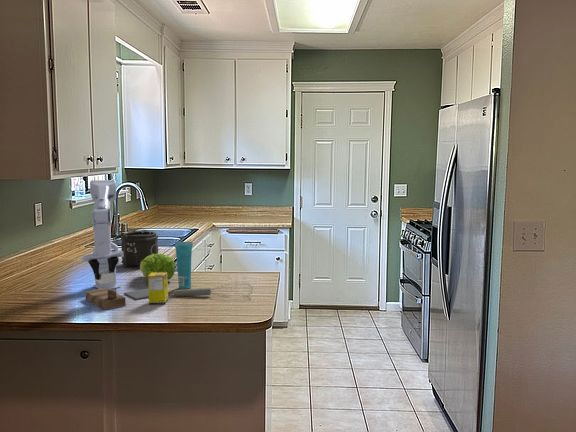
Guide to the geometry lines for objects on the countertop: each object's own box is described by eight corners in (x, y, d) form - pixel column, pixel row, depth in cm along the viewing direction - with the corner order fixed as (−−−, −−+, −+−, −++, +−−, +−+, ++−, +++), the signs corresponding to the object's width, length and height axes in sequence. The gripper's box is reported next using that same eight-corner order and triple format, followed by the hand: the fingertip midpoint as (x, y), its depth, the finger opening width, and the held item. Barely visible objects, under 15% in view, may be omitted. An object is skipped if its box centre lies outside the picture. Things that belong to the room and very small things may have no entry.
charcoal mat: (124, 294, 204) (124, 292, 204) (148, 289, 211) (148, 288, 211) (136, 300, 196) (136, 298, 196) (160, 295, 203) (160, 293, 202)
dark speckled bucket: (156, 260, 271) (156, 230, 269) (161, 267, 254) (160, 235, 252) (120, 262, 265) (119, 231, 263) (122, 269, 248) (121, 237, 246)
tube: (194, 286, 217) (193, 240, 214) (192, 289, 212) (191, 242, 209) (176, 286, 217) (175, 240, 214) (174, 289, 212) (173, 242, 210)
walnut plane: (85, 299, 197) (85, 283, 197) (106, 295, 203) (106, 280, 202) (103, 309, 184) (103, 293, 183) (125, 305, 189) (125, 289, 188)
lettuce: (163, 260, 242) (138, 247, 235) (185, 262, 225) (158, 248, 217) (151, 285, 238) (125, 273, 231) (172, 290, 221) (144, 276, 213)
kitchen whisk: (170, 294, 205) (170, 279, 204) (253, 296, 203) (253, 280, 203) (166, 298, 199) (165, 283, 198) (251, 300, 197) (251, 284, 197)
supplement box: (168, 300, 196) (167, 271, 195) (165, 304, 190) (164, 275, 189) (152, 300, 196) (151, 271, 194) (148, 305, 190) (147, 275, 189)
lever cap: (94, 280, 193) (94, 271, 193) (106, 278, 196) (106, 269, 196) (101, 284, 188) (101, 274, 188) (114, 282, 191) (113, 272, 191)
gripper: (86, 245, 183) (88, 283, 184) (126, 241, 192) (127, 277, 194) (79, 242, 188) (81, 279, 190) (118, 238, 197) (120, 273, 199)
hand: (104, 278), depth 192 cm, fingers closed on lever cap, 4 cm apart
